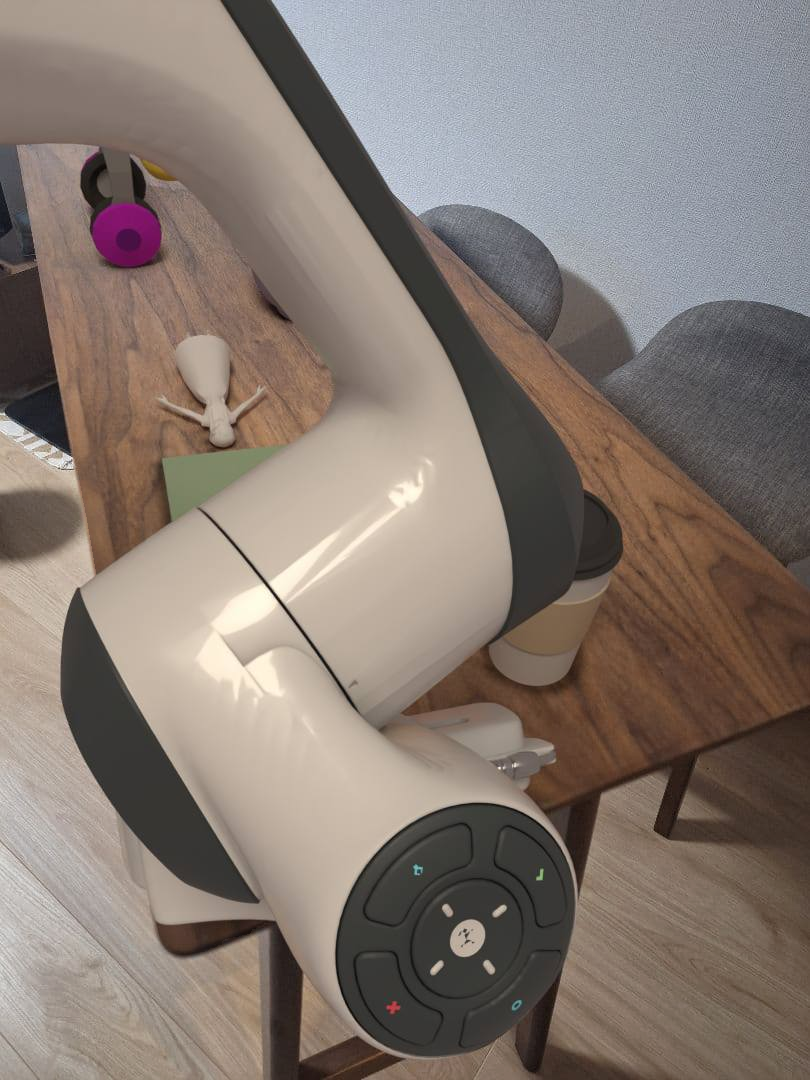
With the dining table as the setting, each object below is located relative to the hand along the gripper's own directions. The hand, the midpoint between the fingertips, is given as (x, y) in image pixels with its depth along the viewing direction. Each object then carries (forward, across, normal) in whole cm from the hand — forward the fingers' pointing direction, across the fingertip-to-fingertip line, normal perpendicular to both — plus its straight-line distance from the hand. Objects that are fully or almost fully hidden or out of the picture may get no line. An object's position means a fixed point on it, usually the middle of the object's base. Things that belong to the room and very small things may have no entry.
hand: (304, 752), depth 52 cm
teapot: (+90, -4, -76) cm, 118 cm away
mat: (+32, -4, -17) cm, 36 cm away
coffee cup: (+16, -21, -1) cm, 26 cm away
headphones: (+74, +6, -59) cm, 95 cm away
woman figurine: (+44, -1, -30) cm, 53 cm away
